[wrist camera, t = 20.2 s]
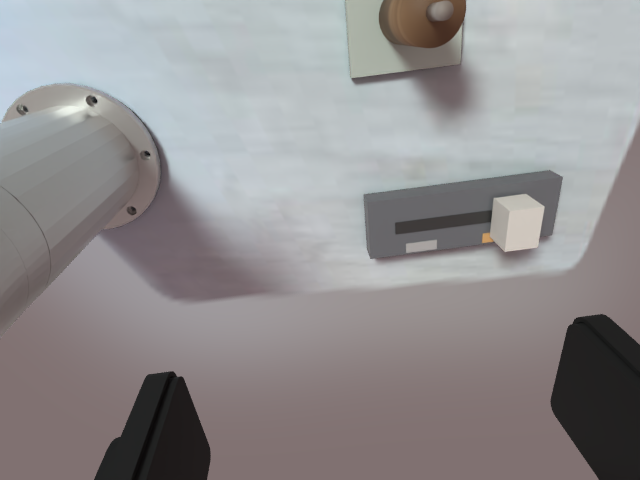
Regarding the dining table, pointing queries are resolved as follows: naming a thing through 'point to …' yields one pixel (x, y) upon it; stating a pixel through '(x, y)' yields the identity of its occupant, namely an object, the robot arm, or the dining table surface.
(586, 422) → the robot arm
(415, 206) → the switch board
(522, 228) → the switch tab
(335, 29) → the dining table surface
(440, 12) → the tool handle
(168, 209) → the dining table surface
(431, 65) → the mat
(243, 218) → the dining table surface
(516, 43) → the dining table surface
